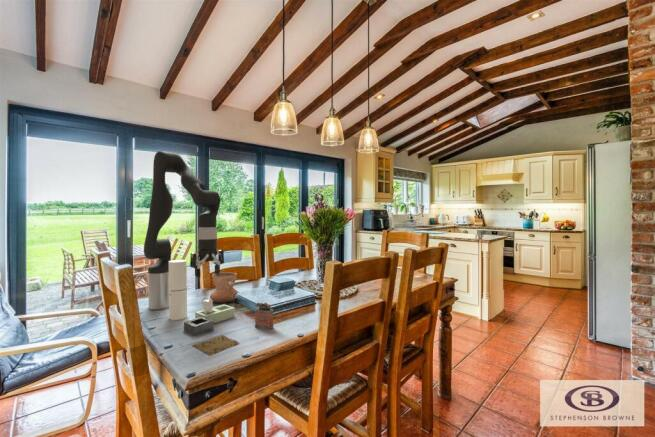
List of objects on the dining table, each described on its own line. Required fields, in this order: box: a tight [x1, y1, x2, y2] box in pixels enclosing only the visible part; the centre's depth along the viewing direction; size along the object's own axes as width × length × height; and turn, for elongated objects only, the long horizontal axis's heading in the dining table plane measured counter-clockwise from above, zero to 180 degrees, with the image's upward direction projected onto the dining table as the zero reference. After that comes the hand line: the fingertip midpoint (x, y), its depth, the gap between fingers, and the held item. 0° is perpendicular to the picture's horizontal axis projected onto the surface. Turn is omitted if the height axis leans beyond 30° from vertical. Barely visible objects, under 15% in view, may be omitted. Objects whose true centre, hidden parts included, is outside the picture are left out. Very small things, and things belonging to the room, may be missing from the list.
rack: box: [194, 303, 236, 324], centre depth 135 cm, size 8×14×4 cm, turn 142°
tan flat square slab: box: [191, 334, 240, 356], centre depth 110 cm, size 12×12×1 cm
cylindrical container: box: [168, 259, 188, 321], centre depth 137 cm, size 7×7×25 cm
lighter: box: [254, 302, 274, 331], centre depth 125 cm, size 8×3×10 cm, turn 71°
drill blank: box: [203, 298, 214, 315], centre depth 132 cm, size 4×4×9 cm
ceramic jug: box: [209, 271, 240, 304], centre depth 162 cm, size 18×14×14 cm
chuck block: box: [183, 317, 215, 337], centre depth 122 cm, size 8×8×4 cm
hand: (207, 275), depth 132 cm, fingers open, 8 cm apart
